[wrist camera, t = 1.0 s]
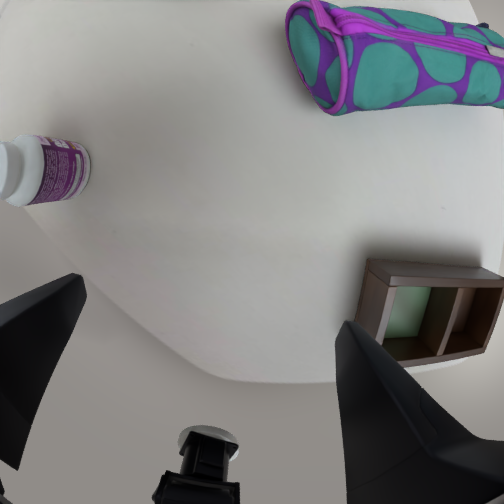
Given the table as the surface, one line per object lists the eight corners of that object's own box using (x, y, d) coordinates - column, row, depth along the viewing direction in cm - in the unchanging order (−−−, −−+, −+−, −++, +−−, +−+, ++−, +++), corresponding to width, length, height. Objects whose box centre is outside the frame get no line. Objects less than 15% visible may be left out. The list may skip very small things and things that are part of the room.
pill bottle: (93, 136, 19) (16, 120, 10) (93, 196, 20) (14, 206, 11) (51, 148, 19) (-22, 142, 10) (51, 202, 21) (-23, 215, 11)
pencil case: (453, 42, 16) (505, 13, 6) (482, 114, 18) (545, 103, 8) (275, 41, 17) (286, -32, 8) (309, 134, 19) (349, 95, 10)
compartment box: (462, 334, 23) (484, 353, 19) (348, 342, 23) (364, 371, 19) (482, 267, 22) (509, 279, 17) (366, 258, 21) (390, 275, 17)
